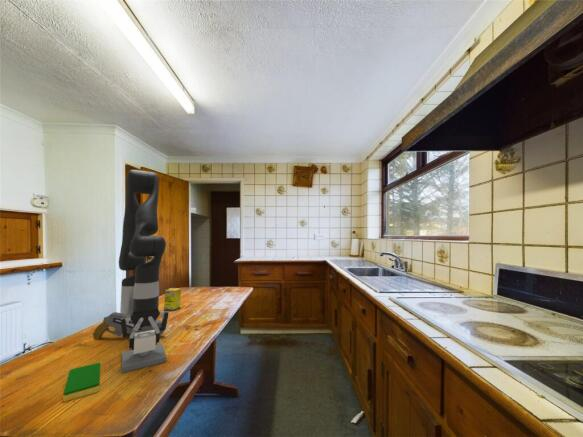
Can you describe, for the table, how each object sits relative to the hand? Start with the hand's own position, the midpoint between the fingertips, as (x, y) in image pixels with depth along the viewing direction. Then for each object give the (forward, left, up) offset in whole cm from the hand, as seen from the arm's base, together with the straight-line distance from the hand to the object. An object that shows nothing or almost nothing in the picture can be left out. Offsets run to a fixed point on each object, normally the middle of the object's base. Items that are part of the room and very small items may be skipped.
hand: (144, 346), depth 83 cm
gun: (-23, -4, -4) cm, 24 cm away
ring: (0, 0, -1) cm, 1 cm away
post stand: (0, 0, -4) cm, 4 cm away
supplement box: (-55, +16, -4) cm, 57 cm away
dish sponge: (+7, -15, -5) cm, 17 cm away
